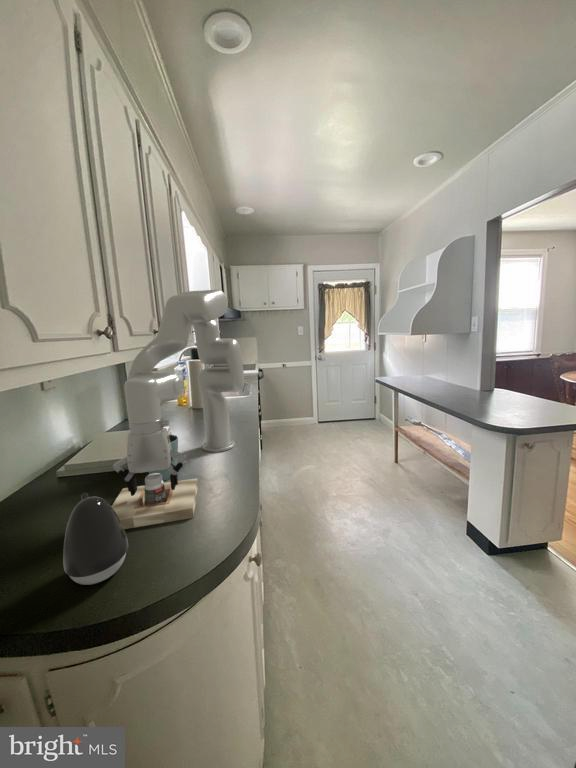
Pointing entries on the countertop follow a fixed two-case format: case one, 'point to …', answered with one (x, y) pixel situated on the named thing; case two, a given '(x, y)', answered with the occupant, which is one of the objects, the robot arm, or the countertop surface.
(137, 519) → the socket plate
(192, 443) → the countertop surface
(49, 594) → the countertop surface
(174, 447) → the blue green cup
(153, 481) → the pill bottle
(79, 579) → the dark rounded oval
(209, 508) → the countertop surface
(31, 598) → the countertop surface
